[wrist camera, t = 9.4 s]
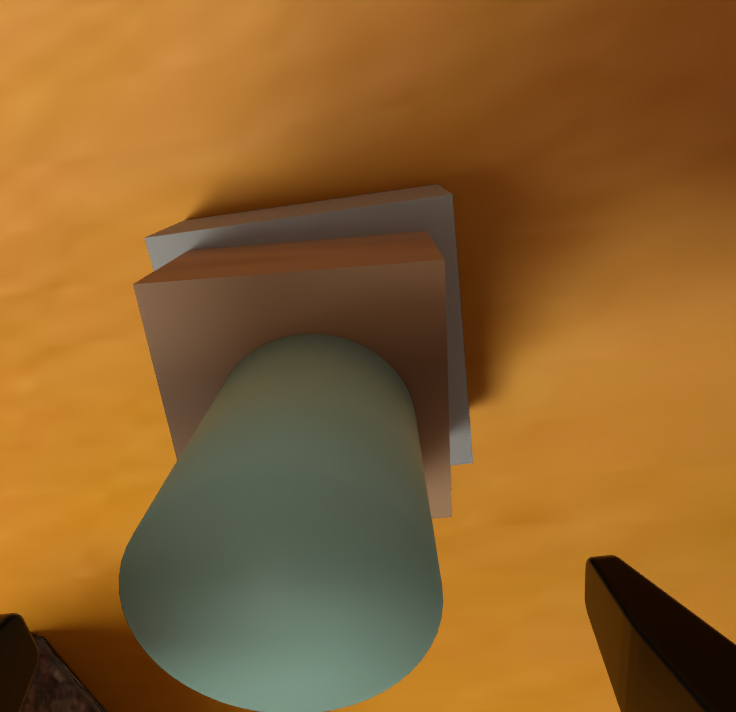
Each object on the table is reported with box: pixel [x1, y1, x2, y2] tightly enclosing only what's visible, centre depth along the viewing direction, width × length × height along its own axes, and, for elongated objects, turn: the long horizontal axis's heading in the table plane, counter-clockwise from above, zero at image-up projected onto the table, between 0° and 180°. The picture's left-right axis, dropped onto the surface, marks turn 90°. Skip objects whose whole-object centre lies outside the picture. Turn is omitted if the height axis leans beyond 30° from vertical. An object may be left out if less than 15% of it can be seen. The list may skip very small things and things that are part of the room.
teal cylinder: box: [119, 334, 443, 712], centre depth 11 cm, size 5×5×6 cm
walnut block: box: [133, 231, 452, 518], centre depth 15 cm, size 7×7×4 cm
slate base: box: [145, 184, 473, 466], centre depth 19 cm, size 9×9×4 cm
